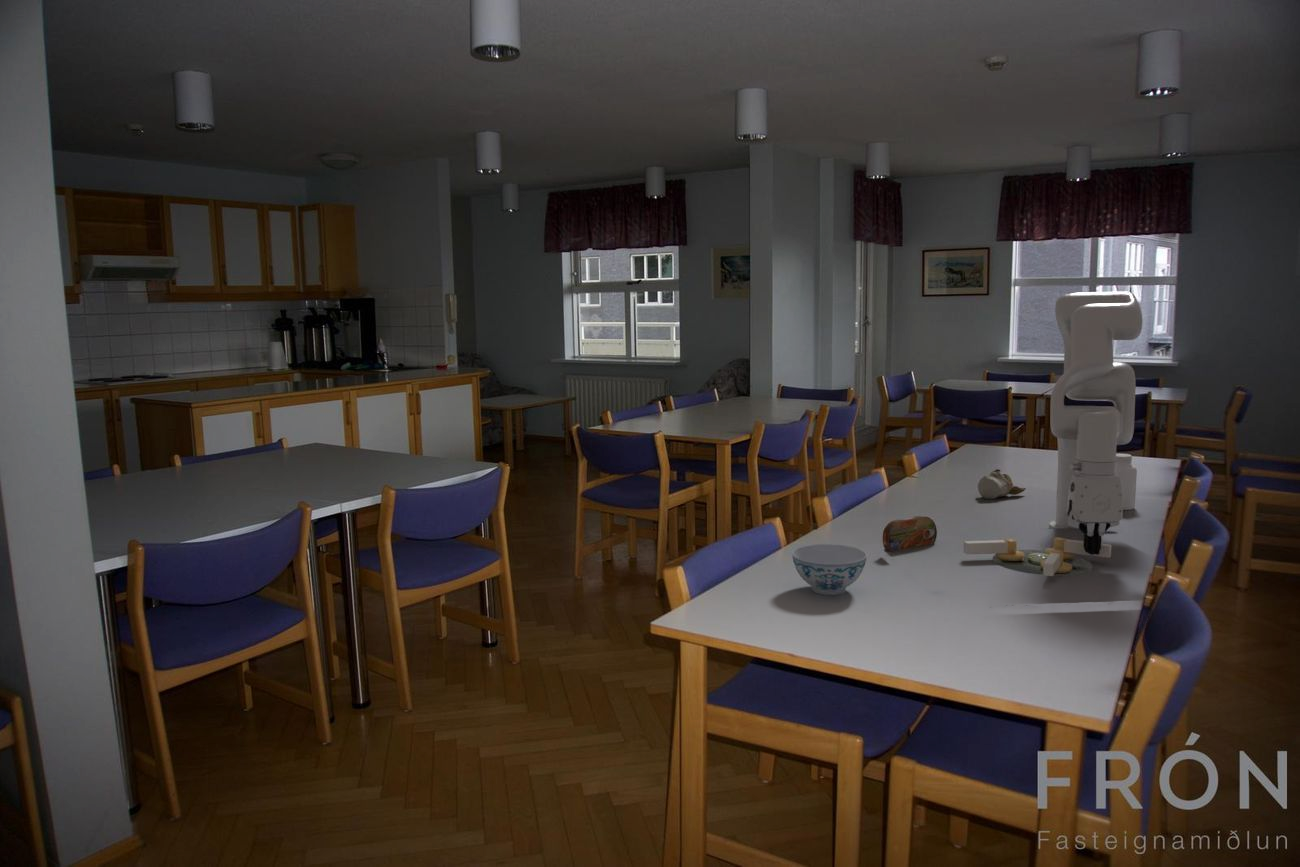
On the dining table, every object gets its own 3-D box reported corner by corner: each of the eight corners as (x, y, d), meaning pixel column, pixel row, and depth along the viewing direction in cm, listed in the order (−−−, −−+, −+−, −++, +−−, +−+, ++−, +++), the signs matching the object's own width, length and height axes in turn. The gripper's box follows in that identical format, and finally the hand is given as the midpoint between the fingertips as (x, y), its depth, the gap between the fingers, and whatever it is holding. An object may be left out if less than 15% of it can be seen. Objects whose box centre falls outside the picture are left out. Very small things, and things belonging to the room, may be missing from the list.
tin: (889, 559, 206) (889, 523, 204) (879, 555, 208) (880, 520, 207) (937, 549, 212) (938, 515, 211) (927, 546, 215) (928, 512, 214)
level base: (1064, 554, 205) (1064, 541, 205) (1111, 580, 186) (1111, 565, 185) (977, 557, 205) (978, 543, 204) (1016, 583, 185) (1016, 568, 185)
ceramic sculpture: (968, 468, 268) (997, 465, 277) (966, 497, 269) (995, 492, 278) (1001, 473, 260) (1029, 470, 269) (999, 502, 260) (1027, 498, 269)
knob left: (1017, 553, 201) (1017, 536, 201) (1029, 560, 195) (1029, 543, 195) (959, 555, 201) (960, 538, 200) (970, 562, 195) (970, 545, 194)
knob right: (1042, 556, 198) (1042, 540, 197) (1048, 550, 202) (1049, 534, 202) (1107, 565, 190) (1108, 548, 190) (1112, 558, 195) (1113, 541, 194)
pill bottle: (1104, 509, 249) (1106, 456, 247) (1101, 503, 256) (1104, 452, 254) (1136, 511, 246) (1139, 457, 244) (1133, 505, 253) (1135, 453, 251)
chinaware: (851, 606, 174) (852, 567, 173) (780, 594, 182) (780, 557, 181) (876, 585, 186) (876, 549, 185) (808, 575, 194) (808, 540, 193)
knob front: (1043, 563, 193) (1043, 546, 192) (1073, 567, 189) (1074, 549, 189) (1031, 579, 182) (1032, 561, 181) (1063, 583, 179) (1064, 565, 178)
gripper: (1069, 472, 186) (1066, 558, 188) (1140, 470, 186) (1136, 556, 188) (1052, 466, 193) (1049, 549, 195) (1120, 465, 193) (1116, 547, 196)
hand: (1091, 552), depth 192 cm, fingers closed
